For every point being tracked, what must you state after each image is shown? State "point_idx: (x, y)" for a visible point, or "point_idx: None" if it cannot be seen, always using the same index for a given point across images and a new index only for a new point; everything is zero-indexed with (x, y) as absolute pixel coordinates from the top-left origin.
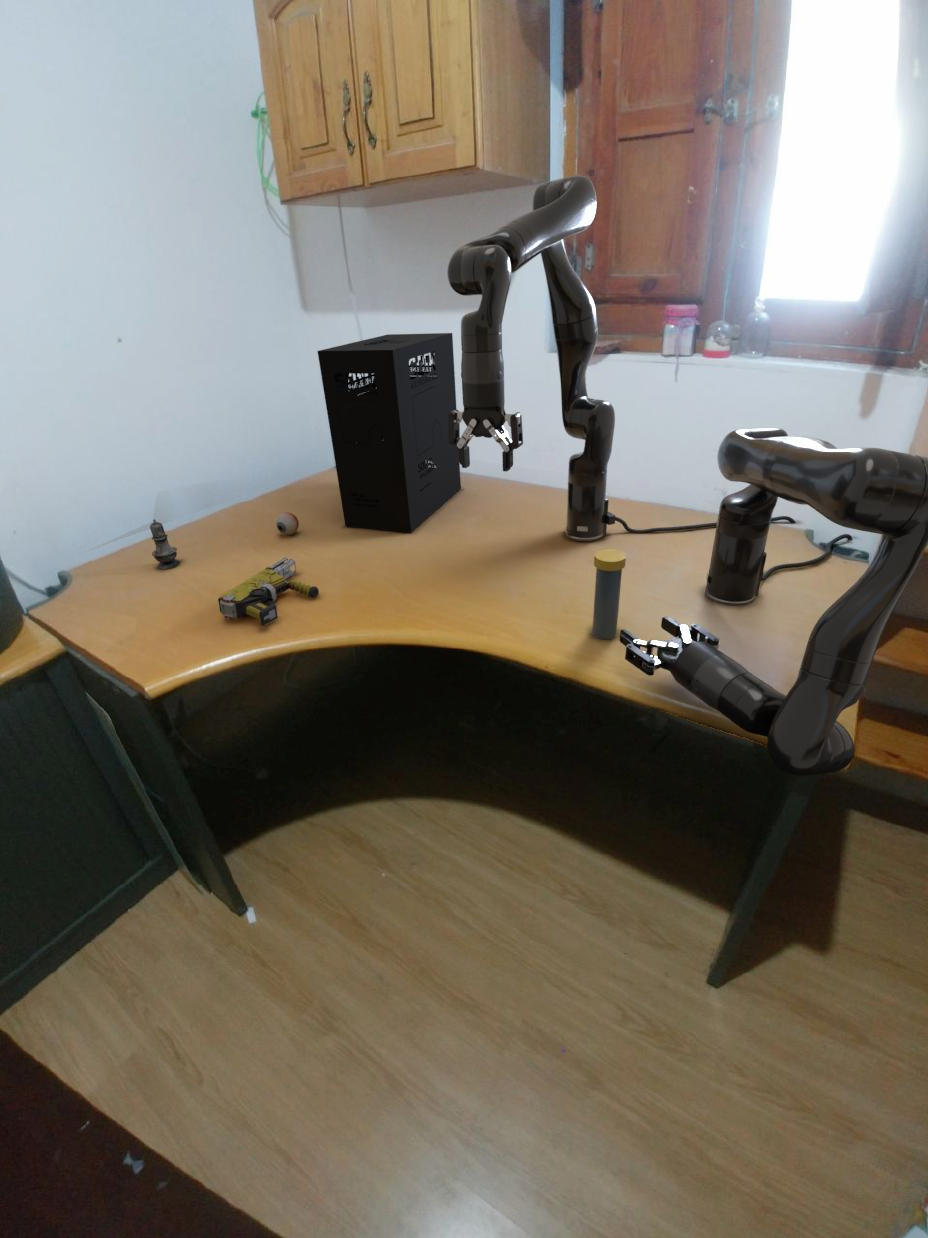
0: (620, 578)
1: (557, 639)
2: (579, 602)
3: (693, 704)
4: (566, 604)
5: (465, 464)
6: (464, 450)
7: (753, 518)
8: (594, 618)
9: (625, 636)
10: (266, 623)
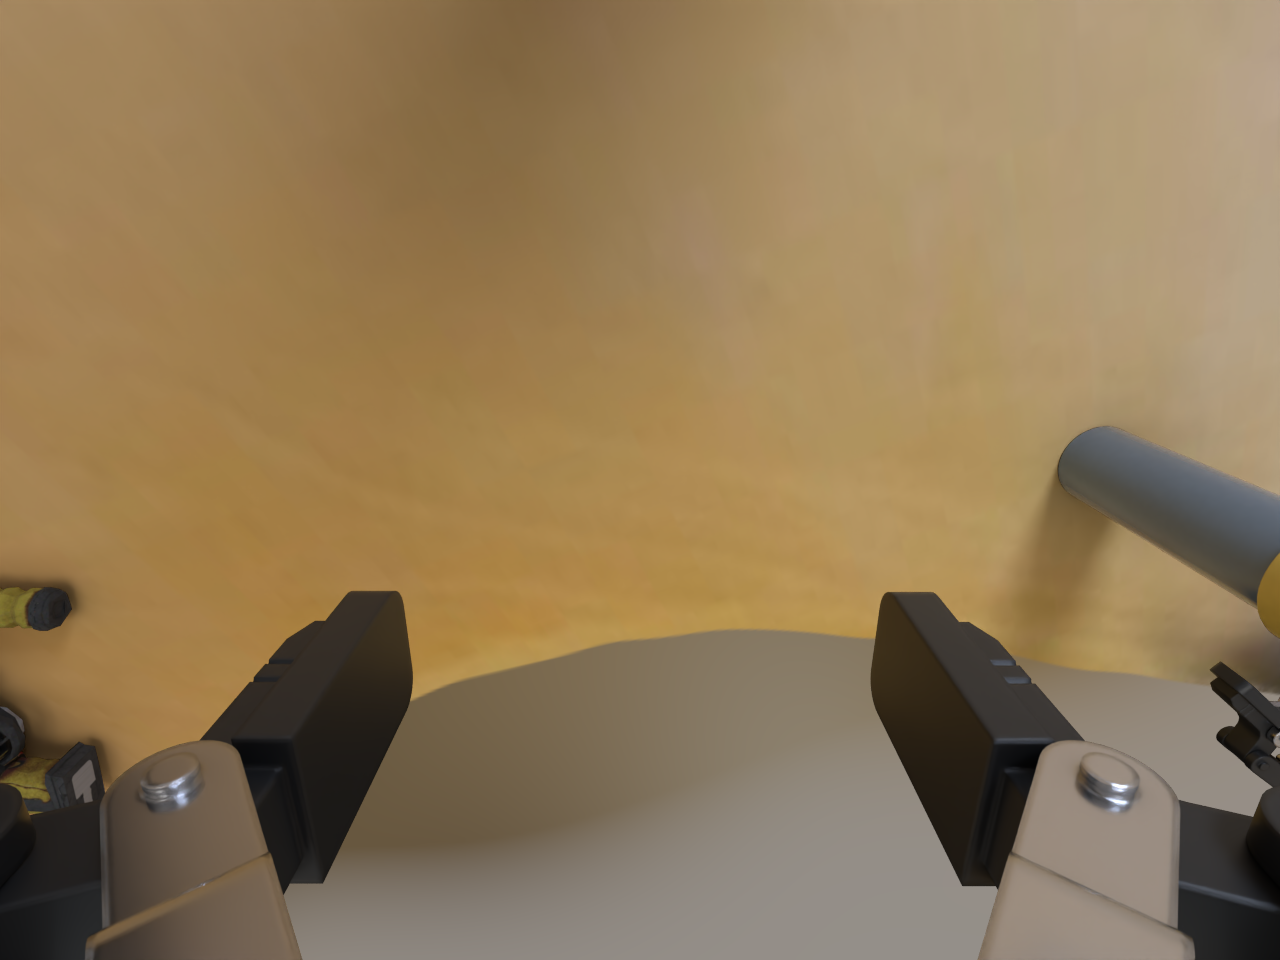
0: None
1: (953, 546)
2: (991, 284)
3: None
4: (944, 318)
5: (400, 710)
6: (330, 857)
7: None
8: (1101, 510)
9: (1246, 708)
10: (101, 787)
